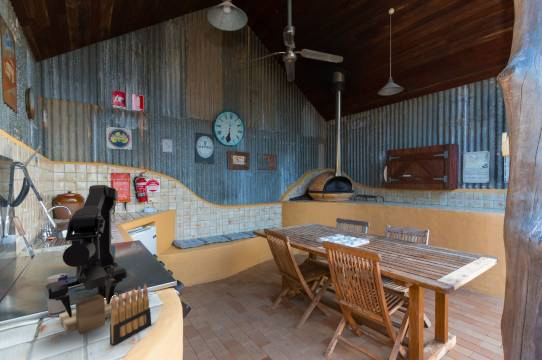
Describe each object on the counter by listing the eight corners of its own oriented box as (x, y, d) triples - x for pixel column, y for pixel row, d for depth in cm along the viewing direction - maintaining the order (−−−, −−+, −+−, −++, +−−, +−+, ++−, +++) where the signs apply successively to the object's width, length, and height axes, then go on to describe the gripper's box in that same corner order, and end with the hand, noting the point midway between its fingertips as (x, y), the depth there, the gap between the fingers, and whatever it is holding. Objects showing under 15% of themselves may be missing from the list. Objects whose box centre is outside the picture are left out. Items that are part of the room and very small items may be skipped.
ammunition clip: (113, 346, 66) (112, 299, 66) (109, 344, 67) (107, 297, 67) (151, 325, 75) (150, 283, 75) (147, 323, 76) (146, 282, 76)
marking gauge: (68, 319, 80) (67, 293, 80) (91, 311, 85) (90, 286, 85) (80, 334, 72) (79, 305, 72) (105, 325, 76) (104, 297, 76)
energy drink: (70, 312, 84) (69, 275, 84) (49, 319, 81) (47, 280, 81) (67, 307, 88) (66, 271, 88) (46, 313, 84) (45, 276, 84)
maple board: (59, 320, 79) (59, 313, 79) (135, 294, 96) (134, 289, 96) (67, 332, 73) (67, 325, 73) (147, 302, 90) (147, 296, 89)
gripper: (52, 271, 63) (54, 335, 63) (133, 253, 77) (135, 305, 77) (43, 263, 70) (45, 320, 71) (119, 247, 85) (121, 295, 85)
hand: (90, 310), depth 76 cm, fingers open, 9 cm apart
